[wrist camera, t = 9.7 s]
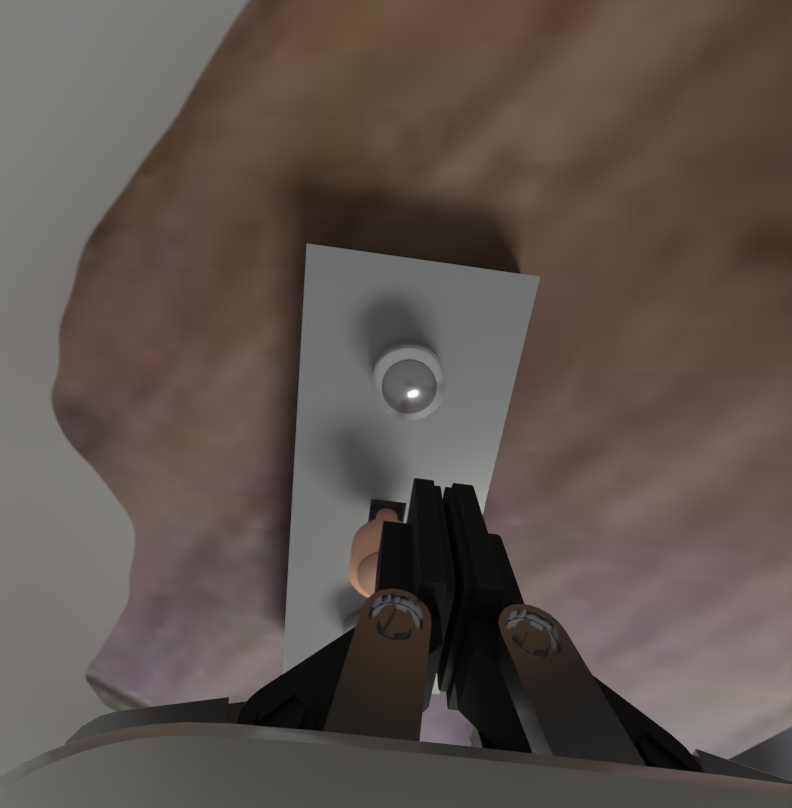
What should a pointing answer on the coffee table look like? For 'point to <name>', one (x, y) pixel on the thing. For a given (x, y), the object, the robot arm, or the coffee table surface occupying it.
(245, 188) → the coffee table surface
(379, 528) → the knob middle
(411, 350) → the knob
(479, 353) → the knob panel
